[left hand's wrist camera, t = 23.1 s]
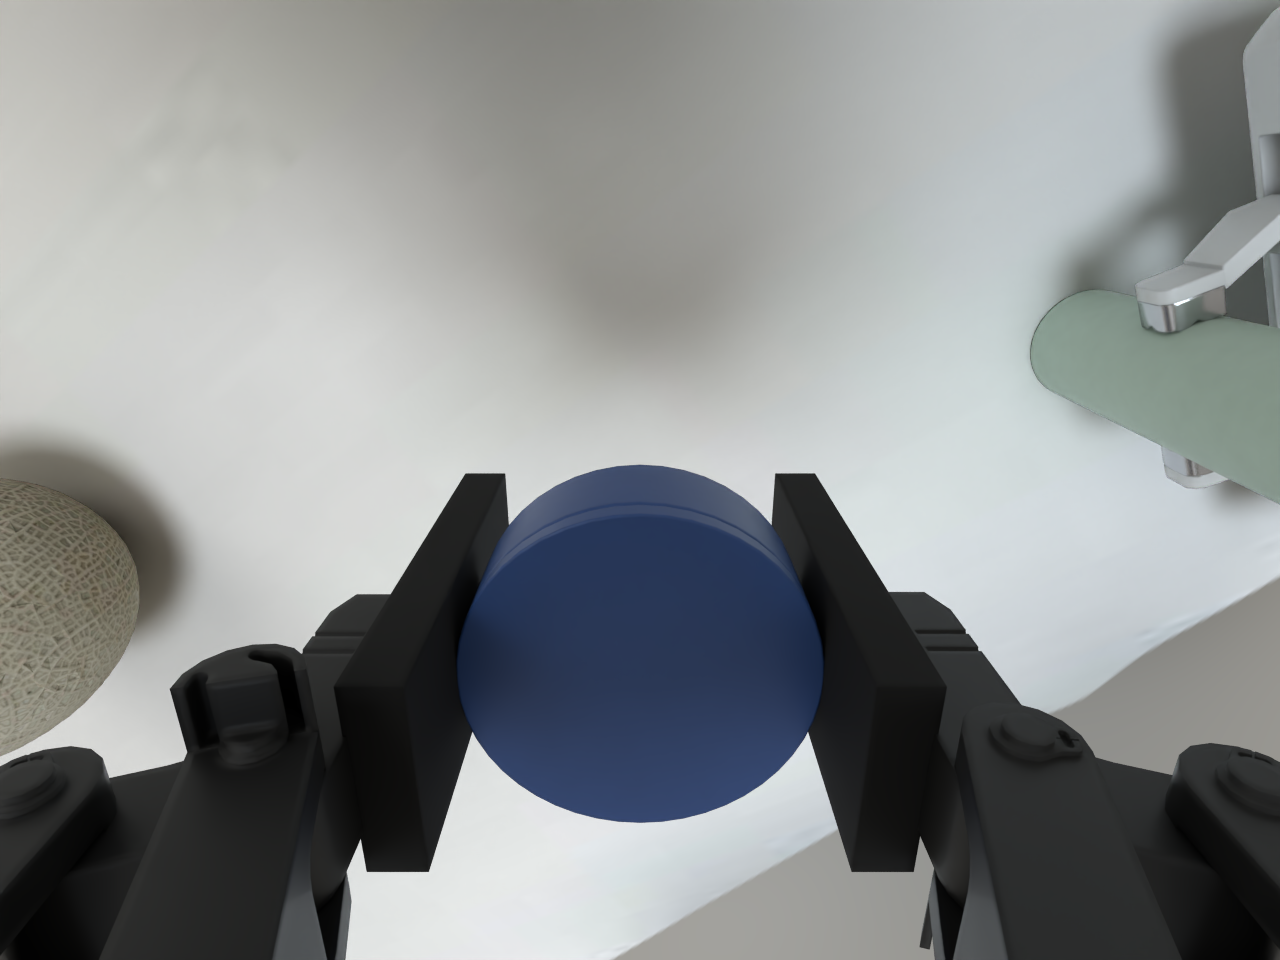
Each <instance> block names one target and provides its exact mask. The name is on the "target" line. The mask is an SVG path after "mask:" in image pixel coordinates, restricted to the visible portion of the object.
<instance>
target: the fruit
mask: <svg viewBox="0 0 1280 960" xmlns="http://www.w3.org/2000/svg"><path fill="white" fill-rule="evenodd" d="M139 604H140V596H139V581H138V575H137V570H136V565H135V563H134V561H133V558H132V556H131V554H130V552H129V550H128V548H127V545H126V544H125V543H124V542H123V540H122V539H121V538H120V536H119V535H118V534H117V532H116V531H115V530H114V529H113V528H112V527H111V526H110V525H109V524H108V523H107V522H106V521H105V520H104V519H103V518H102V517H100V516H99V515H98V514H96V513H95V512H94V511H92V510H91V509H90V508H88V507H87V506H85V505H83V504H82V503H80V502H78V501H76V500H74V499H72V498H70V497H69V496H67V495H65V494H62V493H60V492H57V491H55V490H52V489H49V488H46V487H43V486H40V485H37V484H31V483H27V482H22V481H15V480H9V479H0V756H2V755H5V754H7V753H9V752H12V751H14V750H16V749H18V748H20V747H22V746H24V745H26V744H27V743H29V742H31V741H33V740H35V739H36V738H38V737H39V736H41V735H43V734H45V733H46V732H48V731H49V730H51V729H52V728H54V727H55V726H56V725H58V724H59V723H60V722H62V721H63V720H65V719H66V718H68V717H69V716H70V715H71V714H73V713H74V712H75V711H76V710H77V709H78V708H79V707H81V706H82V705H83V704H84V703H85V702H86V701H87V700H88V699H89V698H90V697H91V696H92V695H93V693H94V692H95V691H96V690H97V689H98V688H99V687H100V686H101V685H102V684H103V682H104V681H105V679H106V678H107V677H108V676H109V675H110V673H111V672H112V670H113V669H114V668H115V666H116V665H117V663H118V662H119V661H120V659H121V657H122V655H123V654H124V652H125V650H126V648H127V645H128V643H129V641H130V639H131V636H132V634H133V631H134V628H135V624H136V620H137V615H138V610H139Z"/></svg>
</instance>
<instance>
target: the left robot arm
mask: <svg viewBox="0 0 1280 960" xmlns="http://www.w3.org/2000/svg"><path fill="white" fill-rule="evenodd" d="M508 526H509V521H508V507H507V493H506V479H505V474H465V475H464V477H463V479H462V480H461V482H460V483H459V485H458V487H457V488H456V490H455V491H454V493H453V495H452V496H451V498H450V500H449V501H448V503H447V504H446V506H445V508H444V509H443V511H442V512H441V514H440V516H439V517H438V519H437V520H436V522H435V524H434V525H433V527H432V529H431V530H430V532H429V533H428V535H427V537H426V538H425V540H424V541H423V543H422V545H421V546H420V548H419V549H418V551H417V553H416V554H415V556H414V558H413V559H412V561H411V562H410V564H409V566H408V567H407V569H406V570H405V572H404V574H403V575H402V577H401V579H400V580H399V582H398V583H397V585H396V587H395V588H394V590H393V591H392V593H391V594H357V595H355V596H354V597H352V598H351V599H349V600H348V601H346V602H345V603H343V604H342V605H340V606H339V607H337V608H336V609H334V610H333V611H331V612H330V613H329V615H328V616H327V617H326V619H325V620H324V621H323V623H322V624H321V625H320V627H319V628H318V630H317V631H316V632H315V636H312V638H311V639H310V640H309V642H308V643H307V644H306V646H305V647H304V649H303V653H302V654H301V653H299V652H298V651H297V650H296V649H295V648H292V647H287V646H283V645H278V644H260V645H249V646H245V647H241V648H236V649H232V650H227V651H225V652H222V653H220V654H218V655H215V656H213V657H210V658H208V659H206V660H203V661H201V662H200V663H198V664H197V665H195V666H194V667H192V668H191V669H189V670H188V671H186V672H185V673H183V674H182V675H181V676H180V678H179V679H178V680H177V681H176V682H175V684H174V685H173V686H172V687H171V688H170V691H171V695H172V699H173V702H174V706H175V709H176V713H177V717H178V720H179V724H180V727H181V731H182V735H183V738H184V742H185V745H186V749H187V755H186V757H185V759H184V761H182V762H178V763H175V764H171V765H168V766H163V767H159V768H154V769H150V770H145V771H140V772H136V773H131V774H126V775H122V776H117V777H113V778H109V776H108V773H107V770H106V767H105V764H104V761H103V758H102V757H100V756H99V755H98V754H97V753H95V752H94V751H93V750H92V749H87V748H80V747H73V746H69V747H61V748H54V749H47V750H42V751H39V752H35V753H31V754H30V755H24V756H22V757H19V758H16V759H14V760H11V761H9V762H8V763H6V764H4V765H2V766H0V960H345V958H346V948H347V939H348V929H349V920H350V911H351V895H350V888H349V882H348V877H347V872H346V871H347V869H348V867H349V864H350V862H351V860H352V857H353V855H354V853H355V851H356V848H357V846H358V844H359V841H360V839H361V842H362V848H363V853H364V859H365V864H366V870H367V872H429V869H430V866H431V863H432V860H433V857H434V853H435V850H436V847H437V844H438V840H439V837H440V834H441V831H442V828H443V824H444V821H445V818H446V815H447V812H448V808H449V805H450V802H451V799H452V795H453V792H454V789H455V786H456V783H457V779H458V776H459V773H460V770H461V766H462V763H463V760H464V757H465V754H466V750H467V747H468V744H469V741H470V738H471V734H472V729H471V727H470V725H469V724H468V722H467V719H466V716H465V713H464V710H463V708H462V705H461V702H460V696H459V689H458V680H457V668H456V657H457V649H458V642H459V638H460V634H461V631H462V627H463V624H464V621H465V618H466V616H467V613H468V611H469V609H470V606H471V604H472V601H473V599H474V596H475V594H476V591H477V589H478V587H479V584H480V582H481V579H482V577H483V574H484V572H485V570H486V567H487V565H488V562H489V560H490V558H491V556H492V553H493V551H494V549H495V547H496V545H497V543H498V541H499V540H500V538H501V537H502V535H503V534H504V532H505V530H506V529H507V527H508ZM772 527H773V528H774V530H775V531H776V533H777V534H778V536H779V537H780V539H781V540H782V542H783V544H784V546H785V548H786V550H787V552H788V554H789V556H790V559H791V561H792V563H793V566H794V568H795V571H796V573H797V576H798V578H799V580H800V583H801V585H802V588H803V590H804V593H805V595H806V597H807V600H808V602H809V605H810V608H811V610H812V612H813V615H814V617H815V619H816V622H817V626H818V629H819V633H820V636H821V639H822V645H823V653H824V676H823V685H822V694H821V699H820V703H819V706H818V709H817V712H816V715H815V718H814V721H813V723H812V725H811V727H810V729H809V730H808V733H809V736H810V739H811V742H812V746H813V749H814V752H815V755H816V759H817V762H818V765H819V768H820V771H821V775H822V778H823V781H824V784H825V788H826V791H827V794H828V797H829V800H830V804H831V807H832V810H833V813H834V816H835V820H836V823H837V826H838V829H839V833H840V836H841V839H842V842H843V845H844V849H845V852H846V855H847V858H848V862H849V865H850V868H851V871H852V872H914V867H915V862H916V856H917V850H918V845H919V839H920V836H921V839H922V841H923V843H924V846H925V848H926V850H927V853H928V855H929V857H930V859H931V862H932V864H933V866H934V872H933V877H932V883H931V888H930V893H929V898H928V903H927V908H926V913H925V918H924V923H923V929H922V935H921V941H920V947H921V948H926V949H930V944H931V940H932V937H933V946H934V956H935V960H1280V762H1278V761H1276V760H1274V759H1273V758H1271V757H1269V756H1266V755H1263V754H1261V753H1258V752H1253V751H1251V750H1248V749H1244V748H1240V747H1236V746H1229V745H1221V744H1214V743H1208V744H1201V745H1194V746H1190V747H1189V748H1187V749H1186V750H1185V751H1184V752H1182V753H1181V754H1180V755H1179V757H1178V760H1177V763H1176V766H1175V769H1174V772H1173V775H1169V774H1164V773H1160V772H1155V771H1150V770H1146V769H1141V768H1136V767H1132V766H1127V765H1122V764H1118V763H1113V762H1110V761H1106V760H1103V759H1099V758H1096V757H1095V756H1094V753H1093V751H1092V750H1091V748H1090V747H1089V746H1088V744H1087V743H1086V741H1085V740H1084V739H1083V737H1082V736H1081V735H1080V734H1079V733H1077V732H1076V731H1075V730H1074V729H1072V728H1071V727H1070V726H1068V725H1067V724H1066V723H1064V722H1063V721H1062V720H1059V719H1057V718H1055V717H1053V716H1051V715H1049V714H1047V713H1045V712H1043V711H1040V710H1038V709H1034V708H1030V707H1026V706H1022V705H1021V704H1020V702H1019V701H1018V700H1017V698H1016V697H1015V696H1014V694H1013V693H1012V692H1011V690H1010V689H1009V688H1008V686H1007V685H1006V684H1005V682H1004V681H1003V680H1002V678H1001V677H1000V676H999V674H998V673H997V672H996V670H995V669H994V667H993V666H992V665H991V663H990V662H989V661H988V659H987V658H986V657H985V655H984V654H983V653H982V651H978V646H977V645H976V643H975V642H974V641H973V639H972V638H971V637H970V635H969V634H966V630H965V628H964V627H963V626H962V624H961V623H960V622H959V620H958V619H957V618H956V616H955V615H954V614H953V612H952V611H951V610H950V609H949V608H947V607H946V606H944V605H943V604H941V603H940V602H938V601H937V600H935V599H934V598H932V597H931V596H929V595H928V594H926V593H925V592H888V591H887V589H886V587H885V586H884V584H883V583H882V581H881V579H880V578H879V576H878V574H877V573H876V571H875V570H874V568H873V566H872V565H871V563H870V562H869V560H868V558H867V557H866V555H865V554H864V552H863V550H862V549H861V547H860V545H859V544H858V542H857V541H856V539H855V537H854V536H853V534H852V533H851V531H850V529H849V528H848V526H847V525H846V523H845V521H844V520H843V518H842V516H841V515H840V513H839V512H838V510H837V508H836V507H835V505H834V504H833V502H832V500H831V499H830V497H829V496H828V494H827V492H826V491H825V489H824V487H823V486H822V484H821V483H820V481H819V479H818V478H817V476H816V475H815V474H775V486H774V500H773V514H772Z"/></svg>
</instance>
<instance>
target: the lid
mask: <svg viewBox="0 0 1280 960" xmlns="http://www.w3.org/2000/svg"><path fill="white" fill-rule="evenodd" d="M456 668H457V680H458V689H459V696H460V702H461V705H462V708H463V710H464V713H465V716H466V719H467V722H468V724H469V725H470V727H471V729H472V731H473V733H474V735H475V737H476V739H477V740H478V742H479V743H480V745H481V746H482V747H483V749H484V750H485V752H486V753H487V754H488V756H489V757H490V758H491V759H492V760H493V761H494V762H495V763H496V764H497V765H498V767H499V768H500V769H501V770H502V771H503V772H505V773H506V774H507V775H508V776H509V777H511V778H512V779H513V780H514V781H515V782H517V783H518V784H519V785H521V786H522V787H524V788H525V789H527V790H528V791H530V792H531V793H533V794H534V795H536V796H538V797H540V798H542V799H544V800H546V801H548V802H550V803H552V804H554V805H556V806H559V807H561V808H564V809H567V810H569V811H572V812H575V813H578V814H582V815H586V816H590V817H594V818H598V819H604V820H611V821H618V822H636V823H645V822H663V821H670V820H676V819H683V818H687V817H691V816H695V815H699V814H703V813H706V812H709V811H711V810H714V809H717V808H719V807H722V806H725V805H727V804H729V803H731V802H733V801H735V800H737V799H739V798H741V797H743V796H745V795H746V794H748V793H749V792H751V791H752V790H754V789H756V788H757V787H759V786H760V785H762V784H763V783H764V782H765V781H767V780H768V779H769V778H770V777H771V776H773V775H774V774H775V773H776V772H777V771H778V770H779V769H780V768H781V767H782V766H783V765H784V764H785V763H786V762H787V761H788V760H789V759H790V758H791V756H792V755H793V754H794V752H795V751H796V750H797V748H798V747H799V745H800V744H801V743H802V741H803V740H804V738H805V736H806V734H807V732H808V730H809V729H810V727H811V725H812V723H813V721H814V718H815V715H816V712H817V709H818V706H819V703H820V699H821V694H822V685H823V676H824V653H823V645H822V639H821V636H820V633H819V629H818V626H817V622H816V619H815V617H814V615H813V612H812V610H811V608H810V605H809V602H808V600H807V597H806V595H805V593H804V590H803V588H802V585H801V583H800V580H799V578H798V576H797V573H796V571H795V568H794V566H793V563H792V561H791V559H790V556H789V554H788V552H787V550H786V548H785V546H784V544H783V542H782V540H781V539H780V537H779V536H778V534H777V533H776V531H775V530H774V528H773V527H772V525H771V524H770V523H769V522H768V521H767V520H766V519H765V517H764V516H763V515H762V514H761V513H760V512H759V511H758V510H757V509H756V508H755V507H753V506H752V505H751V504H750V503H749V502H748V501H746V500H745V499H744V498H743V497H741V496H740V495H738V494H737V493H735V492H733V491H732V490H730V489H729V488H727V487H726V486H724V485H722V484H719V483H717V482H715V481H713V480H711V479H709V478H707V477H704V476H701V475H698V474H695V473H691V472H688V471H685V470H680V469H675V468H670V467H664V466H652V465H629V466H616V467H611V468H605V469H600V470H595V471H592V472H589V473H586V474H583V475H580V476H577V477H574V478H572V479H570V480H568V481H565V482H563V483H561V484H559V485H557V486H555V487H553V488H552V489H550V490H549V491H547V492H546V493H544V494H542V495H541V496H539V497H538V498H537V499H535V500H534V501H533V502H532V503H531V504H529V505H528V506H527V507H526V508H525V509H524V510H522V511H521V512H520V514H519V515H518V516H517V517H516V518H515V519H514V520H513V521H512V523H511V524H510V525H509V526H508V527H507V529H506V530H505V532H504V534H503V535H502V537H501V538H500V540H499V541H498V543H497V545H496V547H495V549H494V551H493V553H492V556H491V558H490V560H489V562H488V565H487V567H486V570H485V572H484V574H483V577H482V579H481V582H480V584H479V587H478V589H477V591H476V594H475V596H474V599H473V601H472V604H471V606H470V609H469V611H468V613H467V616H466V618H465V621H464V624H463V627H462V631H461V634H460V638H459V642H458V649H457V657H456Z"/></svg>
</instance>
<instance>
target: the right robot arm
mask: <svg viewBox="0 0 1280 960" xmlns="http://www.w3.org/2000/svg"><path fill="white" fill-rule="evenodd" d="M1243 71H1244V80H1245V89H1246V99H1247V109H1248V119H1249V129H1250V138H1251V148H1252V158H1253V168H1254V178H1255V188H1256V198H1257V200H1255V201H1253V202H1250V203H1248V204H1245V205H1243V206H1240V207H1238V208H1235V209H1233V210H1230V211H1228V213H1227V214H1226V215H1225V216H1224V217H1223V218H1222V219H1221V220H1220V221H1219V222H1218V223H1217V224H1216V225H1215V227H1214V228H1213V229H1212V230H1211V231H1210V232H1209V233H1208V234H1207V235H1206V236H1205V237H1204V238H1203V240H1202V241H1201V242H1200V243H1199V244H1198V245H1197V246H1196V247H1195V248H1194V249H1193V250H1192V251H1191V252H1190V254H1189V255H1188V256H1187V257H1186V258H1185V259H1184V260H1183V265H1180V266H1178V267H1175V268H1172V269H1170V270H1167V271H1165V272H1162V273H1160V274H1157V275H1154V276H1152V277H1149V278H1147V279H1144V280H1142V281H1140V282H1138V283H1137V284H1135V290H1136V296H1137V302H1138V308H1139V314H1140V320H1141V326H1142V327H1143V328H1146V329H1149V328H1152V327H1153V328H1154V329H1155V330H1156V331H1157V332H1160V333H1173V332H1178V331H1182V330H1185V329H1187V328H1189V327H1191V326H1193V325H1194V323H1195V322H1196V321H1197V320H1200V321H1204V322H1205V321H1209V320H1212V319H1215V318H1217V317H1220V316H1222V315H1225V314H1227V310H1226V298H1225V289H1227V288H1228V287H1229V286H1230V285H1232V284H1233V283H1234V282H1235V281H1236V280H1237V279H1238V278H1239V277H1240V276H1241V275H1243V274H1244V273H1245V272H1246V271H1247V270H1248V269H1249V268H1250V267H1251V266H1253V265H1254V264H1255V263H1256V262H1257V261H1258V260H1259V259H1260V258H1261V257H1262V256H1263V266H1264V276H1265V286H1266V296H1267V306H1268V316H1269V326H1272V327H1276V328H1280V7H1278V8H1277V9H1276V10H1274V11H1273V12H1272V13H1271V14H1270V16H1269V17H1268V18H1267V19H1266V21H1265V22H1264V23H1263V25H1262V26H1261V27H1260V28H1259V30H1258V31H1257V32H1256V33H1255V35H1254V36H1253V38H1252V39H1251V40H1250V42H1249V43H1248V44H1247V46H1246V48H1245V50H1244V53H1243ZM1161 448H1162V456H1163V463H1164V469H1165V474H1166V476H1167V478H1169V479H1171V480H1173V481H1175V482H1176V483H1178V484H1180V485H1182V486H1184V487H1186V488H1192V489H1199V488H1206V487H1209V486H1212V485H1215V484H1218V483H1221V482H1224V481H1226V480H1229V479H1228V478H1225V477H1223V476H1221V475H1219V474H1217V473H1215V472H1213V471H1211V470H1209V469H1207V468H1205V467H1203V466H1201V465H1199V464H1197V463H1195V462H1193V461H1191V460H1189V459H1187V458H1185V457H1183V456H1181V455H1179V454H1177V453H1175V452H1173V451H1171V450H1169V449H1167V448H1165V447H1163V446H1161Z"/></svg>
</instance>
